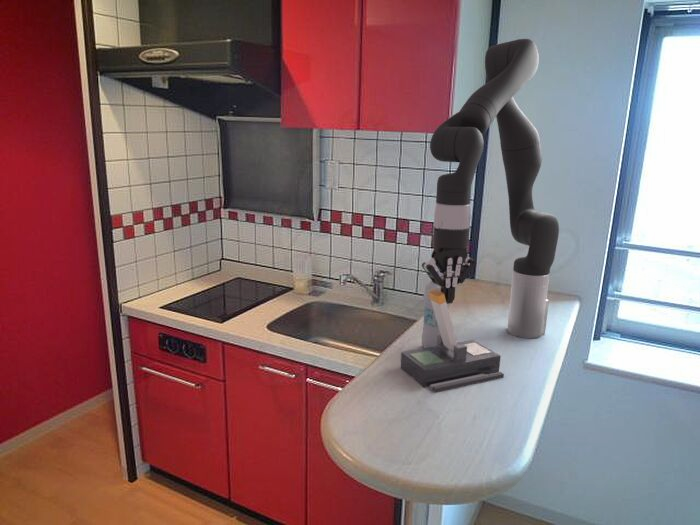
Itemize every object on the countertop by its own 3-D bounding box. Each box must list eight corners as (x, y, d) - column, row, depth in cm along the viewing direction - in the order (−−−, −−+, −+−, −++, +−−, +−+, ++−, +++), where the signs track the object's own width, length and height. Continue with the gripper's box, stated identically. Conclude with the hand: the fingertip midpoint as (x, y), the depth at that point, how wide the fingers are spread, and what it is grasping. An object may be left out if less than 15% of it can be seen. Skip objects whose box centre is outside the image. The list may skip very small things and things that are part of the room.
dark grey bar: (497, 373, 118) (497, 370, 118) (503, 377, 117) (503, 374, 116) (429, 388, 111) (430, 384, 111) (435, 392, 109) (435, 388, 109)
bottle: (447, 355, 128) (452, 276, 123) (419, 352, 129) (424, 274, 124) (447, 344, 134) (453, 269, 129) (421, 342, 135) (425, 267, 131)
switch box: (471, 355, 128) (474, 327, 126) (499, 371, 119) (501, 342, 118) (400, 368, 120) (402, 339, 118) (424, 387, 111) (426, 356, 109)
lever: (449, 344, 121) (433, 288, 115) (460, 351, 117) (445, 293, 111) (443, 347, 120) (427, 291, 115) (454, 355, 116) (438, 297, 111)
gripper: (466, 219, 116) (461, 294, 121) (415, 223, 111) (412, 301, 115) (488, 225, 110) (482, 304, 114) (435, 229, 104) (430, 312, 109)
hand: (446, 302), depth 115 cm, fingers closed
